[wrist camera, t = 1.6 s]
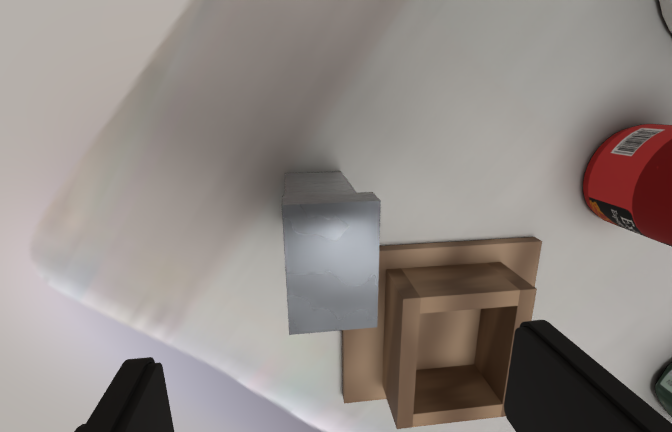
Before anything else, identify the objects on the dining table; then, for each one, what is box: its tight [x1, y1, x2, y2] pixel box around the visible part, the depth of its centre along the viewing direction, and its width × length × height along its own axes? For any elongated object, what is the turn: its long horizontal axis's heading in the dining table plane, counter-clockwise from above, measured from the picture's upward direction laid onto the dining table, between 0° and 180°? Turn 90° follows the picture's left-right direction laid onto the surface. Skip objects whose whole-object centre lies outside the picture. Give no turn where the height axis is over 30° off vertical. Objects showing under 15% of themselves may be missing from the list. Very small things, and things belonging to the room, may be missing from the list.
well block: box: [342, 237, 542, 429], centre depth 29 cm, size 16×14×6 cm
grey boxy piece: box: [282, 171, 380, 335], centre depth 21 cm, size 4×6×12 cm, turn 1°
